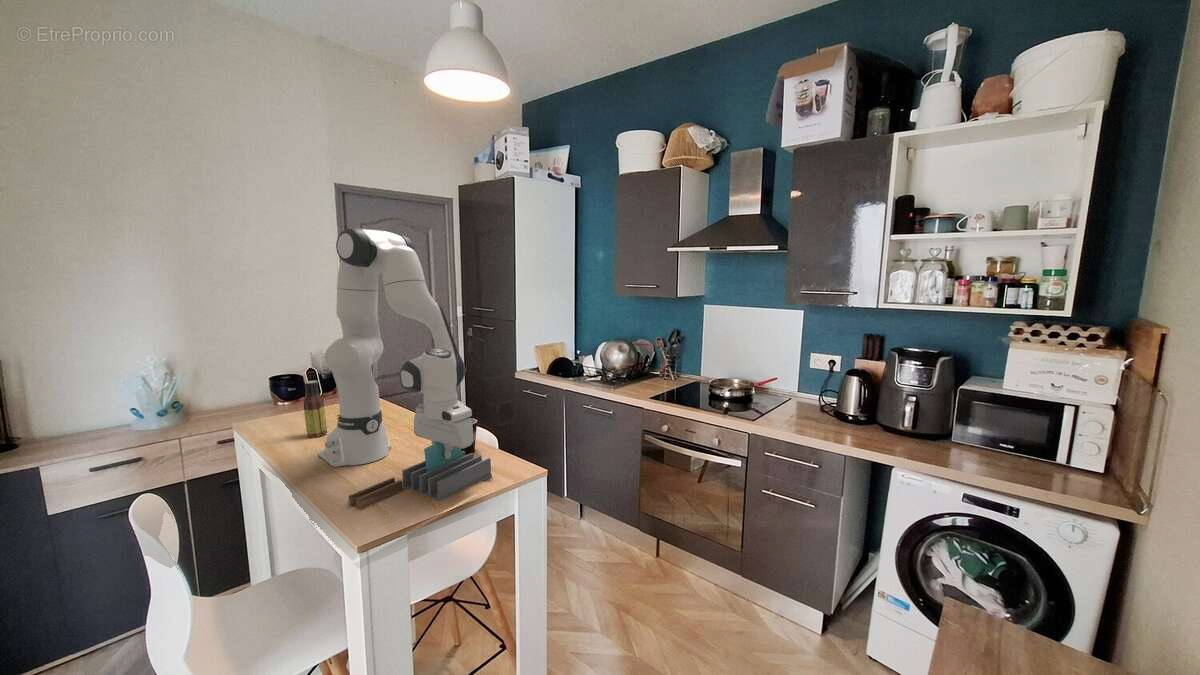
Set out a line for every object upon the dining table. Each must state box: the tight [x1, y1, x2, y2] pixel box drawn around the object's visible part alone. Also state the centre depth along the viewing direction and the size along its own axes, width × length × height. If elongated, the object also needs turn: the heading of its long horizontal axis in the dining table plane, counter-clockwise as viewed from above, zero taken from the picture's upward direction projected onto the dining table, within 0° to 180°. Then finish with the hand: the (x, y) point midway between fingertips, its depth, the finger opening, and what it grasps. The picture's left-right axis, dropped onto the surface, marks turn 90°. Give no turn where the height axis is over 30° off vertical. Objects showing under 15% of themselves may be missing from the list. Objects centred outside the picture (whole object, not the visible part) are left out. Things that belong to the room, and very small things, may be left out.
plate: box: [423, 442, 462, 472], centre depth 125 cm, size 1×11×10 cm, turn 149°
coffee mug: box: [461, 417, 478, 456], centre depth 146 cm, size 12×9×10 cm
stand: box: [347, 477, 406, 511], centre depth 115 cm, size 6×12×3 cm, turn 149°
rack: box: [401, 451, 493, 502], centre depth 125 cm, size 15×18×6 cm
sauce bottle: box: [303, 380, 328, 438], centre depth 161 cm, size 7×6×20 cm
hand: (443, 456), depth 125 cm, fingers closed on plate, 1 cm apart
